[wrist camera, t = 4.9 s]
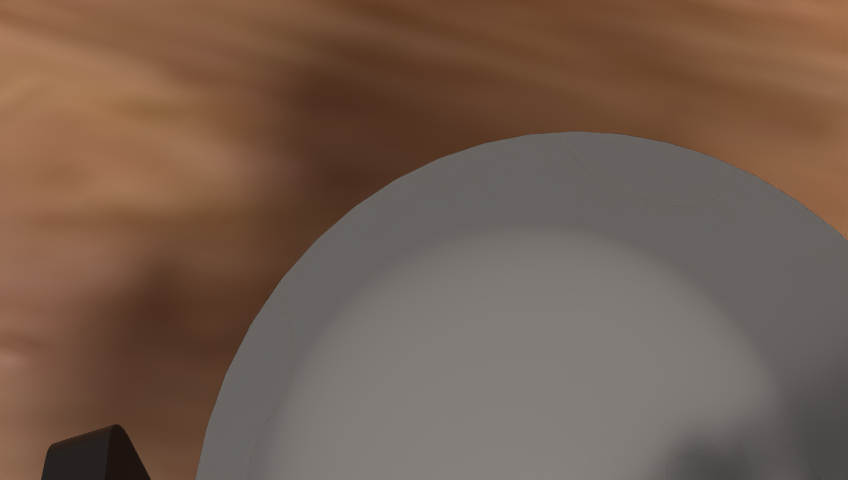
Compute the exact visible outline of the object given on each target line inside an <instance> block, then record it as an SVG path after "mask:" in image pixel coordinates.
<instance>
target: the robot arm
mask: <svg viewBox="0 0 848 480" xmlns="http://www.w3.org/2000/svg"><path fill="white" fill-rule="evenodd" d="M41 480H151V479H150V477H149V475H148V473H147V471H146V469H145V467H144V466H143V464H142V462H141V460H140V458H139V456H138V454H137V452H136V450H135V448H134V446H133V444H132V443H131V441H130V439H129V437H128V435H127V433H126V432H125V430H124V429H123V428H122V427H121V426H120V425H118V424H115V425H112V426H108V427H105V428H102V429H99V430H95V431H92V432H89V433H86V434H82V435H79V436H76V437H73V438H69V439H66V440H63V441H60V442H56V443H54V444H52V445H51V446H50V447H49V449H48V451H47V455H46V459H45V464H44V469H43V473H42V478H41Z"/></svg>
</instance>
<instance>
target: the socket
mask: <svg viewBox="0 0 848 480" xmlns="http://www.w3.org/2000/svg"><path fill="white" fill-rule="evenodd" d="M195 480H848V241H847V240H846V239H845V238H844V237H843V236H842V235H841V234H840V233H839V232H838V231H837V230H835V229H834V228H833V227H832V226H830V225H829V224H828V223H826V222H825V221H824V220H822V219H821V218H820V217H818V216H817V215H816V214H814V213H813V212H812V211H810V210H809V209H808V208H806V207H805V206H804V205H802V204H801V203H800V202H798V201H797V200H796V199H794V198H792V197H790V196H789V195H787V194H785V193H784V192H782V191H780V190H779V189H777V188H775V187H773V186H772V185H770V184H768V183H767V182H765V181H763V180H762V179H760V178H758V177H757V176H755V175H753V174H750V173H748V172H746V171H744V170H741V169H739V168H737V167H735V166H732V165H730V164H728V163H726V162H723V161H721V160H719V159H717V158H714V157H712V156H709V155H706V154H703V153H699V152H696V151H693V150H690V149H686V148H683V147H680V146H677V145H674V144H670V143H667V142H662V141H656V140H651V139H645V138H640V137H634V136H629V135H623V134H610V133H593V132H576V131H575V132H560V133H545V134H530V135H524V136H519V137H514V138H509V139H504V140H499V141H494V142H489V143H484V144H481V145H478V146H475V147H472V148H469V149H466V150H463V151H460V152H457V153H454V154H451V155H448V156H445V157H442V158H439V159H437V160H435V161H433V162H431V163H429V164H427V165H425V166H423V167H420V168H418V169H416V170H414V171H412V172H410V173H408V174H406V175H404V176H402V177H400V178H398V179H396V180H394V181H393V182H391V183H390V184H388V185H387V186H385V187H384V188H382V189H381V190H379V191H378V192H376V193H375V194H373V195H372V196H370V197H369V198H367V199H366V200H364V201H363V202H361V203H359V204H358V205H356V206H355V207H354V208H353V209H351V210H350V211H349V212H348V213H347V214H346V215H345V216H343V217H342V218H341V219H340V220H339V221H338V222H336V223H335V224H334V225H333V226H332V227H331V228H330V229H328V230H327V231H326V232H325V233H324V234H323V235H321V236H320V237H319V238H318V239H317V240H316V241H315V242H314V243H313V244H312V245H311V247H310V248H309V249H308V250H307V251H306V252H305V253H304V254H303V256H302V257H301V258H300V259H299V260H298V261H297V262H296V263H295V265H294V266H293V267H292V268H291V269H290V270H289V271H288V272H287V274H286V275H285V276H284V277H283V278H282V279H281V281H280V282H279V284H278V285H277V287H276V288H275V290H274V291H273V293H272V294H271V295H270V297H269V298H268V300H267V301H266V303H265V304H264V306H263V307H262V309H261V310H260V312H259V313H258V315H257V316H256V317H255V319H254V320H253V322H252V324H251V325H250V327H249V329H248V331H247V333H246V335H245V337H244V339H243V341H242V343H241V345H240V347H239V349H238V351H237V353H236V355H235V357H234V359H233V361H232V363H231V365H230V367H229V369H228V371H227V373H226V375H225V378H224V381H223V384H222V387H221V389H220V392H219V395H218V398H217V400H216V403H215V406H214V409H213V412H212V414H211V417H210V420H209V423H208V426H207V429H206V434H205V438H204V443H203V447H202V452H201V456H200V461H199V465H198V470H197V474H196V479H195Z"/></svg>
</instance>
